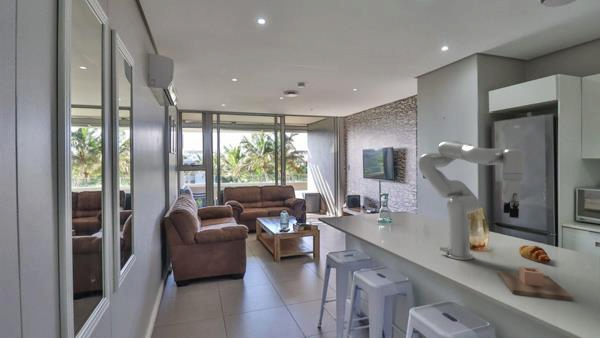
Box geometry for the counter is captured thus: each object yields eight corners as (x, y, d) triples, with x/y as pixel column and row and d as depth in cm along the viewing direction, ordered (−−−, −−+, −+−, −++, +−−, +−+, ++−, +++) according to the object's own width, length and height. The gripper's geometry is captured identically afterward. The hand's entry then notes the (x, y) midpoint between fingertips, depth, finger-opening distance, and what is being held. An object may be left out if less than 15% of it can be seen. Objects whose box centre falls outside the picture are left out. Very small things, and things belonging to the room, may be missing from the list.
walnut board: (512, 293, 112) (512, 289, 112) (497, 274, 131) (497, 271, 131) (572, 300, 106) (572, 296, 106) (548, 279, 124) (548, 275, 124)
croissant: (514, 257, 162) (507, 245, 162) (532, 249, 161) (524, 236, 161) (543, 271, 140) (534, 256, 141) (563, 261, 140) (554, 246, 140)
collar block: (524, 284, 116) (524, 271, 116) (519, 278, 122) (519, 266, 122) (543, 286, 114) (543, 273, 114) (537, 280, 120) (537, 268, 120)
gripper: (497, 175, 140) (496, 210, 142) (507, 178, 124) (505, 218, 126) (516, 175, 138) (514, 211, 139) (529, 179, 122) (527, 220, 123)
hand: (510, 215), depth 132 cm, fingers open, 9 cm apart
